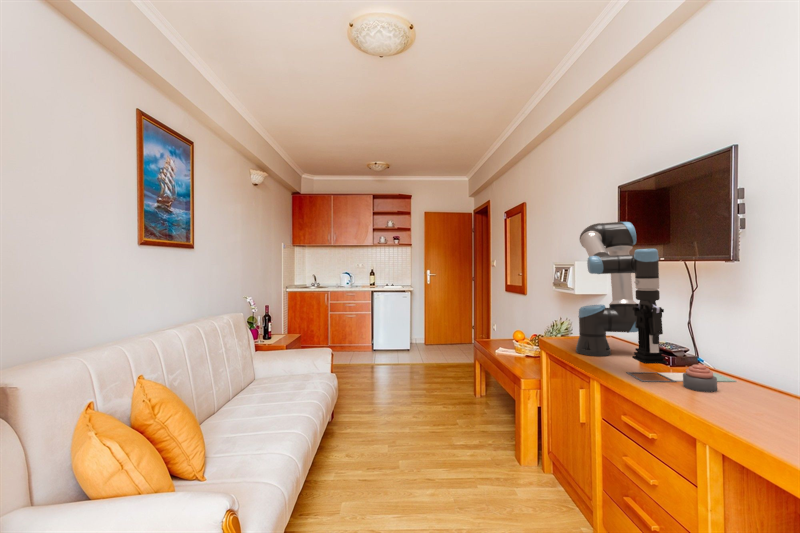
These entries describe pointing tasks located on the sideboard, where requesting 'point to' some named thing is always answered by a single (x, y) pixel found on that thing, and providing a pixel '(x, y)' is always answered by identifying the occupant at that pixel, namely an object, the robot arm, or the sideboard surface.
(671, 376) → the board
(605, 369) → the sideboard surface
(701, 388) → the base
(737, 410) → the sideboard surface
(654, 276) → the robot arm
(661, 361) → the chess piece
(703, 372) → the pink swirled mound
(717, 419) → the sideboard surface
